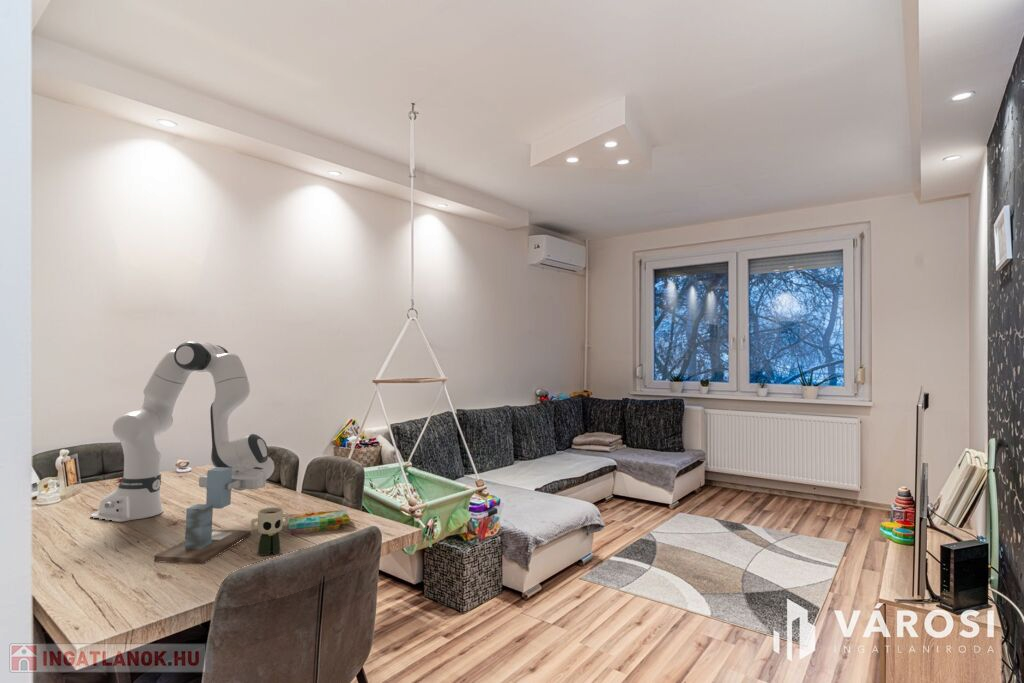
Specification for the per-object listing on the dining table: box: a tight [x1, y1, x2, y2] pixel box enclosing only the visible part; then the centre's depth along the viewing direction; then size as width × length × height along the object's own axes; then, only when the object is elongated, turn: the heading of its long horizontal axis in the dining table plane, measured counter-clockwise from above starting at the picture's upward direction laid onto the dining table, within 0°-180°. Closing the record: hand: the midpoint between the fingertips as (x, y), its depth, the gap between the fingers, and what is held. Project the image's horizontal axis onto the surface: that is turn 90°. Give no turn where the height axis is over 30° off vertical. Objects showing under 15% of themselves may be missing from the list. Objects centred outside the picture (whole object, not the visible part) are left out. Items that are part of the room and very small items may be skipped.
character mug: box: [250, 506, 290, 556], centre depth 158 cm, size 11×7×13 cm, turn 128°
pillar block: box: [205, 467, 232, 510], centre depth 167 cm, size 5×5×12 cm
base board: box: [153, 503, 252, 564], centre depth 161 cm, size 15×24×14 cm, turn 177°
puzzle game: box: [287, 509, 351, 535], centre depth 182 cm, size 12×5×20 cm
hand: (217, 486), depth 166 cm, fingers closed on pillar block, 5 cm apart
